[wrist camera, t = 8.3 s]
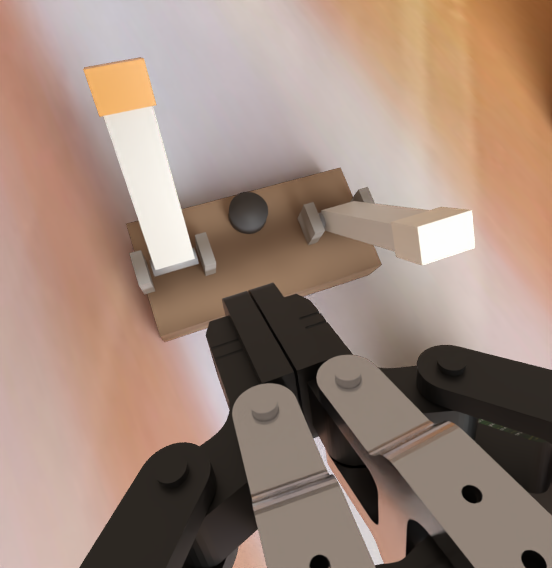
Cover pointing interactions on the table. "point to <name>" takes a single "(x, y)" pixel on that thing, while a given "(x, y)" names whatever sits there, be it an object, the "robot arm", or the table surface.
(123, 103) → the lever orange
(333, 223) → the lever ivory
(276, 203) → the console
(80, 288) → the table surface
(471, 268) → the table surface
